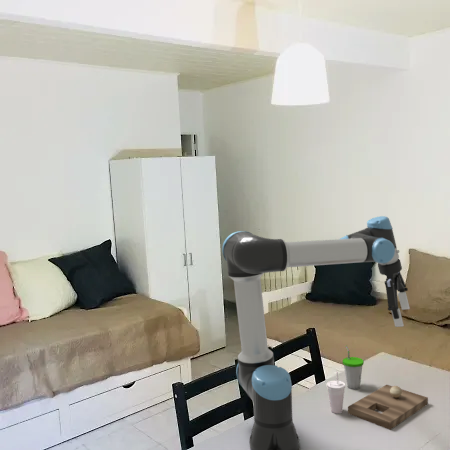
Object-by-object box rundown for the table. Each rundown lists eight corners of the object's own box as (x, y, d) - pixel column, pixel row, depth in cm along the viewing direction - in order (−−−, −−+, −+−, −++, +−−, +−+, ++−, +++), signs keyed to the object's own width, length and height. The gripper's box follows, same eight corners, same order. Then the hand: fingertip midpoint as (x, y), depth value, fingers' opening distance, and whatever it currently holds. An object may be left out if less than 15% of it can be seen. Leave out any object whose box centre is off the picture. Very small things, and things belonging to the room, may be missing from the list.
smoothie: (346, 415, 174) (345, 375, 173) (327, 414, 176) (325, 375, 174) (345, 407, 181) (344, 368, 179) (327, 406, 182) (325, 367, 180)
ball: (398, 400, 178) (398, 389, 177) (387, 397, 181) (387, 386, 180) (404, 397, 180) (404, 386, 180) (394, 393, 183) (393, 382, 183)
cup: (365, 391, 192) (364, 352, 190) (343, 391, 193) (342, 352, 192) (363, 382, 200) (362, 345, 198) (342, 382, 201) (341, 345, 199)
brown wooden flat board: (390, 429, 164) (390, 422, 163) (348, 413, 176) (347, 406, 175) (427, 404, 179) (427, 397, 179) (386, 391, 191) (386, 384, 191)
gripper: (392, 272, 165) (408, 333, 168) (405, 247, 186) (418, 301, 189) (369, 275, 169) (385, 334, 172) (384, 250, 190) (397, 303, 193)
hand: (402, 317), depth 181 cm, fingers open, 13 cm apart
